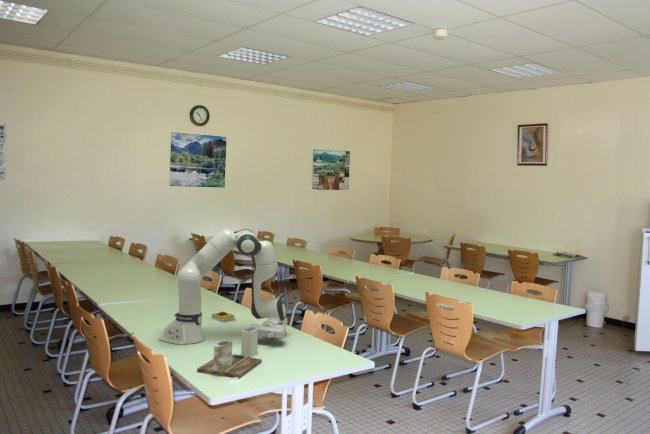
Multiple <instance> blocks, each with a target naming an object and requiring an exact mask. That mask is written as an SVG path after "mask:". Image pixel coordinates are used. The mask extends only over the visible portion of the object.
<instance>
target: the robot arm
mask: <svg viewBox="0 0 650 434" xmlns="http://www.w3.org/2000/svg"><path fill="white" fill-rule="evenodd" d="M233 249H234V250H235V249H237V251H238V252H239V253H240V254H242V255H245V256H254V260H255V271H253V273H252V274H251V303H250V304H251V307H250V312H251V315H252V316H253V317H254V318H255V319H257V320H260V319H267V320H265V321H264V322H263V323H262V324H254V323H253V324H250V325H249V324H248V325H247V326H245V329H246V328H248V327H252V328H258V337H266V339H270V338H273V339H274V338H275V339H283V338H284V337H286V331H287V329H286V328H287V325H288V318H287V314H288V313H287V312H288V311H287V309H288V308H287V306H286V304H285V302H284V301H283V300H282V299H280V298H273V299H263V298H262V283H264V282H265V281H268V280H269V279H271V278H272V277H274V276H275V275H276V274H277V272H278V269H279V268H278V265H279V264H278V261H277V260H278V259H277V256H276V250H275V249H274V246H273V244H272V242H271V241H268V240H259V239H258V237H257V235H256V234H255V232H253V230H251V229H249V228H244V229H240V230H237V231H232V230H231V229H227V228H226V229H225V228H224V229H223V230H220V231H219V232H218V233H217V234H215V235H214V236H213V237H212V238H211V239H210V240H209V241H208V242H206V244H205V245H203V247H202V248H201V249H200V250H198V251H197V252H196V253H195V254H194V256H193V257H192V258H191V259H189V261H188V262H187V263H186V264H184V266H183V267H182V268H181V269H180V270H179V272H178V273H177V291H178V292H177V293H178V312H176V313H175V314H174V315H173V317H175V320H173V321H171V323H168V325H165V327H164V331H163V334H162V335H160V336H159V337H158V341H161V342H165V343H169V344H173V345H178V346H179V345H181V346H182V345H190V344H196V343H201V342H203V341H204V340H205V339H204V338H205V337H204V335H203V331H202V330H203V329H202V321H203V312H202V294H201V293H202V290H201V280H202V279H203V278H204V277H205V276H206V275H207V274H209V272H210V271H212V270H213V268H215V267H216V266H217V265H218V264H219V263H220V262H221V261H222V259H224V258H225V256H226V255H228V253H230V252H231V251H232V250H233Z"/></svg>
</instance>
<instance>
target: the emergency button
mask: <svg viewBox="0 0 650 434" xmlns="http://www.w3.org/2000/svg"><path fill="white" fill-rule="evenodd" d="M211 318H212V320H214V319H215V320H214V321H217V320H218V321H217V322H219V323H220V322H221V323H223V324H224V323H225V324H226V323H231V322H236V321H237V319H235V314H233V313H229V312H226V311H219V312H215V313H212V314H211V317H210V319H211Z"/></svg>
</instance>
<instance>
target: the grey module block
mask: <svg viewBox="0 0 650 434" xmlns="http://www.w3.org/2000/svg"><path fill="white" fill-rule="evenodd" d="M245 328H246V327H245ZM258 337H259V336H258V328H252V327H248V328H246V329H242V330H241V343H240V344H241V345H240V346H241V347H240V348H241V349H240V351H241V354H240V355H244V357H247V356H249V357H250V358H253V357H254V356H256V355H257V354H258Z"/></svg>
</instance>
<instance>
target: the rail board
mask: <svg viewBox="0 0 650 434" xmlns="http://www.w3.org/2000/svg"><path fill="white" fill-rule="evenodd" d="M261 363H263V362H262V358H256V357H249V356H247V357H244V355H241V354H237V353H233V341H230V340H221V341H219V342H218V343H216V344H214V345H213V359H211V360H209V361H207V362H206V363H204V364H202V365H201V366H199V367H197V368H196V372H197V373H200V374H201V373H202V374H207V375H214V376H220V377H227V378H233V377H238V378H237V379H241V378H242V377H244V376H245V375H246V374H247V373H249V372H251V371H252V370H253V369H254V368H256V367H257V366H258V365H260V364H261Z"/></svg>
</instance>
